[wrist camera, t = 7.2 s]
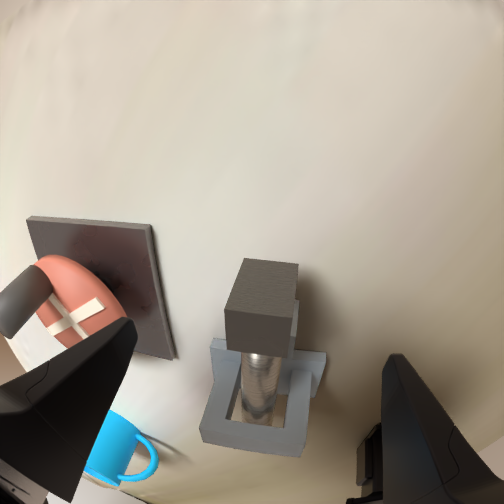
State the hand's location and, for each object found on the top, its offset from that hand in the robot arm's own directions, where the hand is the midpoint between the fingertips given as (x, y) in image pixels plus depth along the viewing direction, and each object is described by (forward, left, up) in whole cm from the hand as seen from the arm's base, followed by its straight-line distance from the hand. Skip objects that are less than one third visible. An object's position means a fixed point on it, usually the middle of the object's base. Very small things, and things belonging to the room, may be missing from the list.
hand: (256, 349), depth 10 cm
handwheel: (+12, +4, -4) cm, 13 cm away
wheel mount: (+12, +4, -6) cm, 14 cm away
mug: (+17, +27, -6) cm, 33 cm away
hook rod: (0, +5, -4) cm, 7 cm away
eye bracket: (0, +6, -6) cm, 9 cm away
